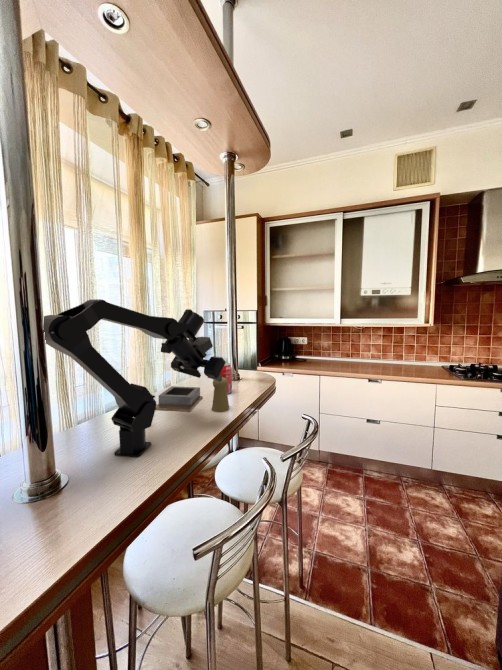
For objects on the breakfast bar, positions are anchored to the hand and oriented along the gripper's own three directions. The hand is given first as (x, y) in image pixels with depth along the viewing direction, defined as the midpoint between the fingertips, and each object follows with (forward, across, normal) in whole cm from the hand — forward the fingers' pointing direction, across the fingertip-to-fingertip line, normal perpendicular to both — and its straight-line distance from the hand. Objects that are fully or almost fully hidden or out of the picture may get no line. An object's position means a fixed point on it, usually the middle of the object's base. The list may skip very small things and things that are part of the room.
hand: (210, 378), depth 93 cm
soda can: (+23, +11, -5) cm, 26 cm away
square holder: (+9, +16, +7) cm, 20 cm away
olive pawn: (+12, 0, +5) cm, 13 cm away
